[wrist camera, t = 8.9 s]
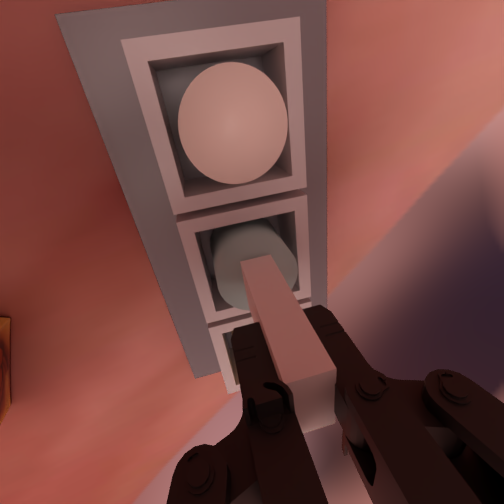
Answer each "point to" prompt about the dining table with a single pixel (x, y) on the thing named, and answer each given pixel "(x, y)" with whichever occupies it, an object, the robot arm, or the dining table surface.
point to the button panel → (177, 162)
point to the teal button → (247, 256)
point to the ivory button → (232, 123)
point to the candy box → (4, 366)
